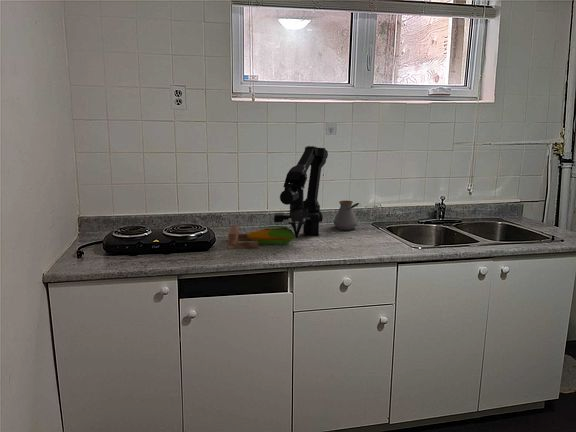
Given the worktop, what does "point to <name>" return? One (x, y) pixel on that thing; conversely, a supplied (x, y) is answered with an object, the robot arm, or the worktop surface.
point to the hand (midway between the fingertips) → (296, 237)
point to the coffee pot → (346, 216)
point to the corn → (272, 235)
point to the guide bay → (236, 236)
